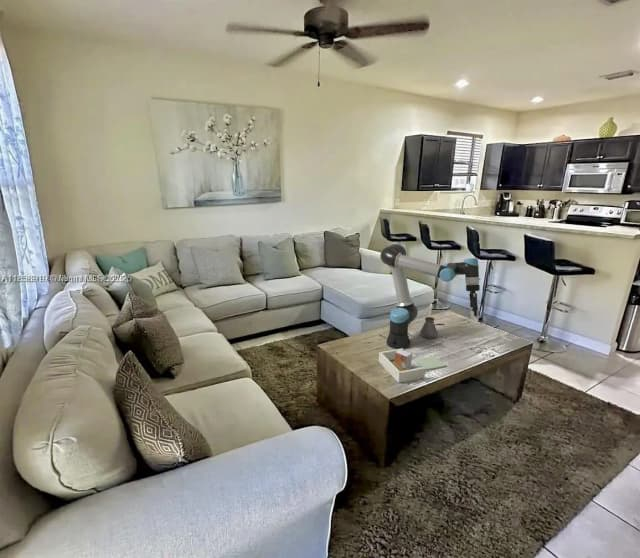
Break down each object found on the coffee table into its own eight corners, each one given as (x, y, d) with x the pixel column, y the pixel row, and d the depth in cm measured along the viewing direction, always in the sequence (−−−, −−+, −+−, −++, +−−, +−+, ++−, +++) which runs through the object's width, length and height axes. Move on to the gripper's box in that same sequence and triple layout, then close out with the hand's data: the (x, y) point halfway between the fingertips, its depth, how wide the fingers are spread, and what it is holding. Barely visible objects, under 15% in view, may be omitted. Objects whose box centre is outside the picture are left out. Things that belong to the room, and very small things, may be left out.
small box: (393, 368, 206) (394, 351, 203) (399, 364, 209) (400, 348, 206) (405, 373, 200) (406, 356, 197) (411, 369, 204) (412, 353, 201)
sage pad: (413, 360, 213) (413, 359, 213) (434, 357, 217) (434, 355, 217) (425, 370, 202) (425, 369, 202) (446, 366, 206) (446, 365, 206)
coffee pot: (416, 334, 249) (417, 314, 245) (430, 331, 253) (431, 311, 248) (435, 347, 230) (437, 325, 225) (450, 344, 233) (452, 323, 229)
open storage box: (378, 361, 213) (379, 352, 212) (402, 357, 218) (402, 348, 216) (398, 382, 191) (399, 373, 189) (424, 377, 195) (425, 368, 194)
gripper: (481, 285, 197) (484, 323, 198) (477, 282, 221) (479, 316, 221) (467, 285, 199) (469, 323, 200) (464, 283, 223) (466, 316, 224)
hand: (474, 319), depth 211 cm, fingers open, 13 cm apart
